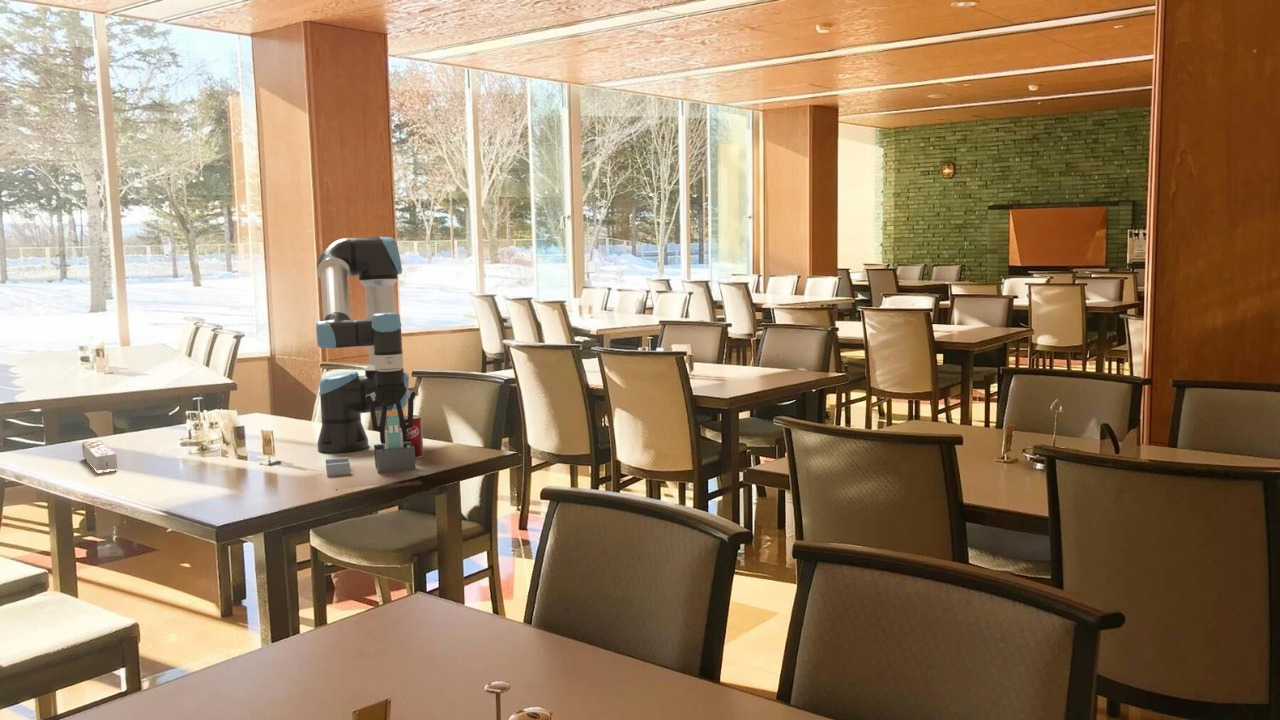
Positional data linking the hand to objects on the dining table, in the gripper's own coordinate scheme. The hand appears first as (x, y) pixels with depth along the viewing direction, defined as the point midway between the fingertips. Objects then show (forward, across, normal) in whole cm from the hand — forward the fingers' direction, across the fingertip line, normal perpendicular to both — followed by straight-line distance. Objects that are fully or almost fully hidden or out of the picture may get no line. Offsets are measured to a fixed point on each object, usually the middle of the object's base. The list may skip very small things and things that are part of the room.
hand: (394, 454), depth 274 cm
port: (+5, 0, 0) cm, 5 cm away
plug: (+2, 0, 0) cm, 2 cm away
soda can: (+5, +6, +17) cm, 19 cm away
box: (+5, -81, +51) cm, 96 cm away
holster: (+5, -15, +2) cm, 16 cm away
